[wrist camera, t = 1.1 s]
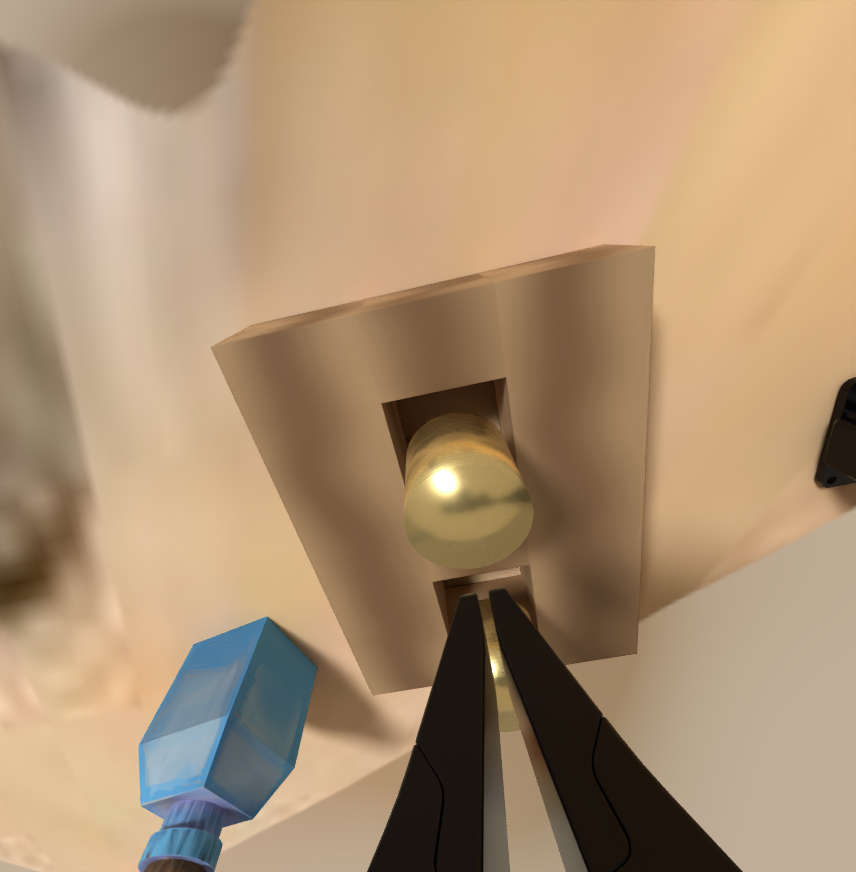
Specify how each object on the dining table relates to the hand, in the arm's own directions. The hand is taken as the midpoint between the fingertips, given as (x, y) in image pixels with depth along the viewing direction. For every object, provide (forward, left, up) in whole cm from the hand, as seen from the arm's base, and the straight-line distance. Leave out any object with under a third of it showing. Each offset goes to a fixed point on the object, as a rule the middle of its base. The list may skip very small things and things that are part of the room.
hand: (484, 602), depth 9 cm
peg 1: (0, 0, -7) cm, 7 cm away
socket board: (0, +5, -12) cm, 13 cm away
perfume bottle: (+17, +16, -12) cm, 26 cm away
